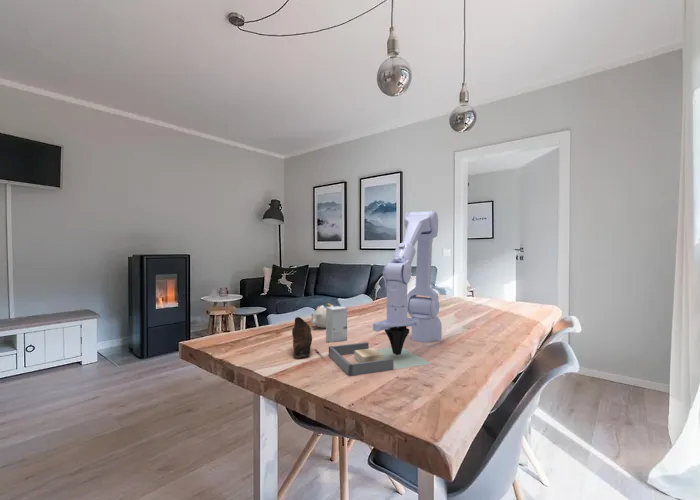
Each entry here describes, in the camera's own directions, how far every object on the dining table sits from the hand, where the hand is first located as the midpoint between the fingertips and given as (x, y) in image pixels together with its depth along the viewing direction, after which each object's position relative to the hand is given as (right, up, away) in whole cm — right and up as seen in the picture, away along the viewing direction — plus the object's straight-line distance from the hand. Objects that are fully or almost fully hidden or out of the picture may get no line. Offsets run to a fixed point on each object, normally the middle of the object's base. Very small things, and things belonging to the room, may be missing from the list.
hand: (396, 353), depth 93 cm
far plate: (+1, -2, 0) cm, 2 cm away
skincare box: (-18, -2, +18) cm, 25 cm away
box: (-11, -2, -4) cm, 12 cm away
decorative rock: (-28, -3, +8) cm, 29 cm away
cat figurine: (-23, -2, +41) cm, 48 cm away
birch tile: (-8, -2, -3) cm, 9 cm away
